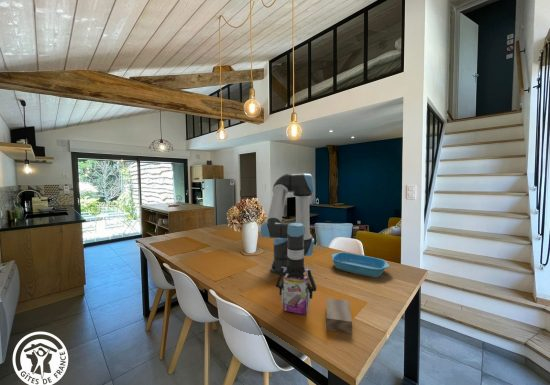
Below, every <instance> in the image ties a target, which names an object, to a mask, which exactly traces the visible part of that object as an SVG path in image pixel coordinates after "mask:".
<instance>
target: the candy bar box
mask: <svg viewBox="0 0 550 385" xmlns="http://www.w3.org/2000/svg"><path fill="white" fill-rule="evenodd" d="M287 276H288V274H284V275H283V276H282V279H283V280H282V282H283V303H282V310H283V312H288V313H293V314H298V315H303V316H307V314H308V311H309V306H308V288H307V284H308V282H309V283H310V280H309V277H308V275H307V276H306V275H304V276H305V277H304V279H300V278H296V277H295V278H293V277H290V278H287Z"/></svg>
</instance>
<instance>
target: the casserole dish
mask: <svg viewBox="0 0 550 385" xmlns="http://www.w3.org/2000/svg"><path fill="white" fill-rule="evenodd" d="M331 259H332V262H333V265H334V266H335V268H336V269H338V270H340V271H344V272H348V273H351V274H355V275H360V276H365V277H368V278H379V277H380V276H382V274H383V273H384V271H385V269H388V268H389V267H390V264H389V263H388V262H387V260H384V259H383V258H377V257H373V256H367V255H363V254H357V253H352V252H347V251H344V252H343V251H342V252H337V253H332V254H331Z"/></svg>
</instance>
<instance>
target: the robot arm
mask: <svg viewBox="0 0 550 385" xmlns="http://www.w3.org/2000/svg"><path fill="white" fill-rule="evenodd" d="M271 191H272V193H273V194H272V198H271V202H270V206H269V210H268V214H267V215H268V216H267V220H266V222H262V223H261V225H260V236H261V237H262V238H267V239H273V243H272V245H273V260H272V262H271V266H270V267H271V272H272V273H274V274H276V275H279V276H278V278H277V281H276V284H275V287H276V288H278V289H279V295H280V296H281V303H282V304H283V281H282V279H283V277H284V275H285V274H288V276H287V278H290V277H293V278H295V277H296V278H300V279H304V277H305V276H306V275H307V277H309V282H308V284H307V288H308V307H311V306H310V305H311V299H313V292H316V291H317V285H316V283H315V281H314V277H313V274H312V269H311V268H310V267H309V268H305V258H304V257H311V256H312V255H313V252H314V244H315V238H313V235H312V234H311V233H310V230H311V229H310V227H311V226H310V225H311V223H310V198H311V197H312V194H314V193H315V186H314V178H313V175H312V174H311V173H305V172H304V173H285V174H283V175H281V176H280V177H279V178H278V179H276V181H275V182H274V184H273V186H272V190H271ZM288 193H293V194H292V195H293V197H295V222H291V223H288V222H282V221H283V213H284V208H285V202H286V196H287V195H288ZM305 273H306V275H305ZM281 281H282V282H281Z"/></svg>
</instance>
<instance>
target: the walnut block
mask: <svg viewBox="0 0 550 385" xmlns="http://www.w3.org/2000/svg"><path fill="white" fill-rule="evenodd" d="M325 316H326V317H325V322H326V323H325V324H326V325H325V329H326V331H329V332H331V331H332V332H338V333H344V334H351V335H352V334H353V319H352V318H353V317H352V313H351V305H350V300H349V299H348V300H347V299H338V298H331V297H327V298H326V315H325Z"/></svg>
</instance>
